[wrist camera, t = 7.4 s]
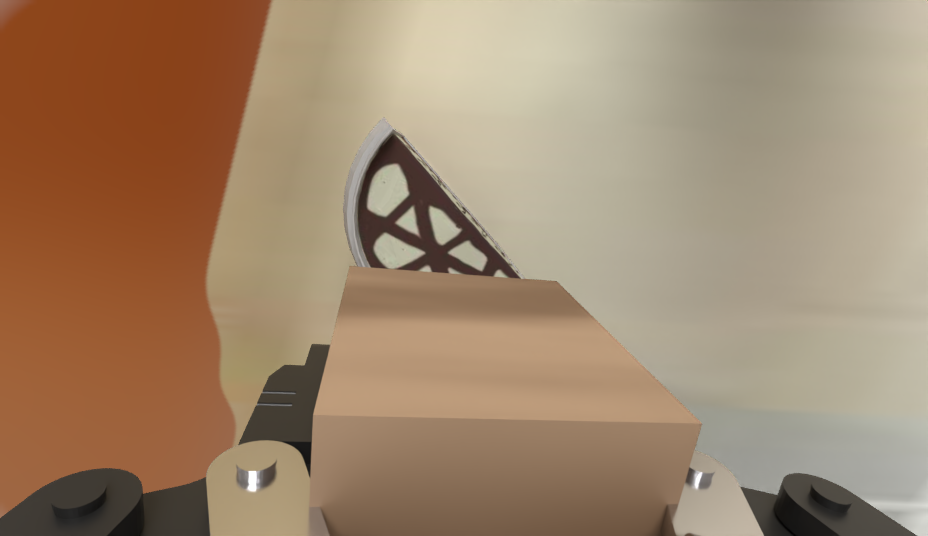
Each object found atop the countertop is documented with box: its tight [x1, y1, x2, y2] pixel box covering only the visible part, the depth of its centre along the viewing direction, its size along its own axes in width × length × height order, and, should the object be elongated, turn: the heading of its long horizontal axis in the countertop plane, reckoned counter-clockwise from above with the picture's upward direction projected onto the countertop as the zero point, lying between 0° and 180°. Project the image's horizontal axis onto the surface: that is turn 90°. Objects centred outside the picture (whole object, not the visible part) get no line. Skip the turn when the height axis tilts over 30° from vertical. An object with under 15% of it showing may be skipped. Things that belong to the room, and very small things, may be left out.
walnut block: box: [309, 266, 702, 536], centre depth 10 cm, size 5×5×6 cm
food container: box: [343, 117, 525, 279], centre depth 28 cm, size 12×6×10 cm, turn 40°
